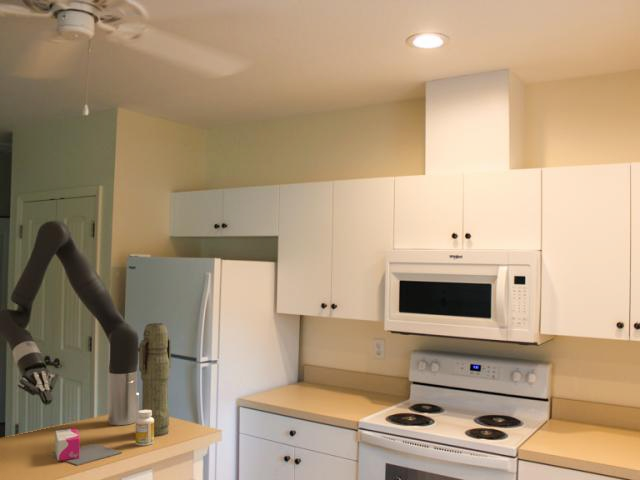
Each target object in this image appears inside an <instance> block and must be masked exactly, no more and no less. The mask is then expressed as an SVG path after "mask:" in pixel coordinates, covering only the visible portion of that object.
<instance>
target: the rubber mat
mask: <svg viewBox="0 0 640 480" xmlns="http://www.w3.org/2000/svg"><path fill="white" fill-rule="evenodd" d="M122 454H123V452H122V451H120V450H116V449H114V448H110V447H106V446H104V445H100V444H97V443H92V444H87V445H84V446H80V449H79V458H77V459H69V460H62V461H63V462H66V463H69V464H72V465H74V466H82V465H84V464H85V465H86V464H88V463H93V462H96V461H99V460H102V459H106V458H111V457H114V456H117V455H122ZM49 456H50V457H52V458H55V459H57V455H56V452H55V453H51V454H49Z"/></svg>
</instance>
